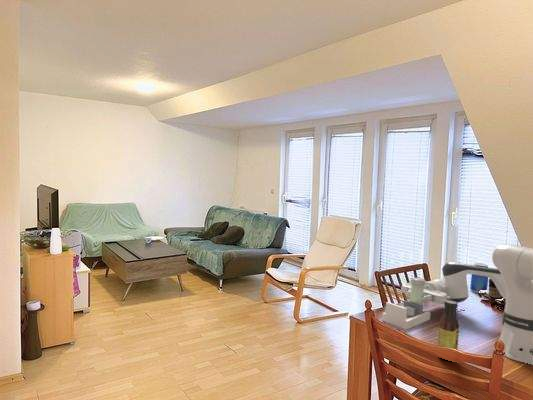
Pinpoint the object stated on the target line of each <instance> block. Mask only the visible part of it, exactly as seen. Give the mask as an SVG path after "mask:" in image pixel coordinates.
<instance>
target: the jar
mask: <svg viewBox="0 0 533 400" xmlns="http://www.w3.org/2000/svg"><path fill="white" fill-rule="evenodd" d="M425 281H426V279H425V278H421V277H410V281H409V282H411V289H410V296H409V300H408V301H409V302H413V303H416V304H419V305H422V306H423V307H424V305H423V303H424V300H421V298H422V296H423V294H424V285H425Z"/></svg>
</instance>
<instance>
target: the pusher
mask: <svg viewBox="0 0 533 400" xmlns="http://www.w3.org/2000/svg"><path fill="white" fill-rule="evenodd" d="M409 301H410V300H406V299H405V300H404V301H403V306H404V307H405V308H407V314H408V315H411V316H414V317H415V316H417V315H420V314H422V313H424V312H423V310H424V305H423V306H422V305H419V304H416V303H413V302H409Z"/></svg>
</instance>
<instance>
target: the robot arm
mask: <svg viewBox="0 0 533 400" xmlns="http://www.w3.org/2000/svg"><path fill="white" fill-rule="evenodd" d="M491 256H492V257H491V260H492V263H493V265H494V267H496V268H493V267H481V266H474V264H468V263H467V264H466V263H462V262H456V261H449V262H446V263H445V264H444V265H443V266H442V268H441V271H442V276H443V278H436V279H433V280H429V281H427V280H425V285H424V294H423V296H422V298H421V300H423V302H424V301H426V302H433V303H436V304H441V305H444V303H445V301H446V300H450V301H455V302H457V304H459V303H462V302H463V303H464V301H466V300H467V299H468V298H469V296H470V295H469V286H468V281H467V280H468V279H467V275H468V274H469V275H472V274H474V275H481V276H486V277H488V279H491V280H492V281H493V282H494V284H495V285H496V287H497V289H498V291H499V293H500V294H501V295H502V297H503V300H504V299H505V310H503V312H502V317H501V318H502V319H501V323H502V328H501V333H500V336H499V337H498V341H499V340H501V341H503V343H504V344H505V350H504V352H505V354H504V355H505V356H506V357H507V358H508V359H510V360H514V361H517V362H520V363H523V362H524V364H527V363H528V364H527V365H530V364H531V366H533V248H531V247H526V246H523V245H522V246H521V245H518V244H500V245H498V246H496V247H495V249H494V250H493V252H492V255H491ZM410 289H411V282H410V281H409V282H406V283H403V284H402V285H401V289H400V291H401V293H403V294H406V296H408V297H410Z"/></svg>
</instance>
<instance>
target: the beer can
mask: <svg viewBox="0 0 533 400" xmlns="http://www.w3.org/2000/svg"><path fill="white" fill-rule="evenodd" d="M473 265H474V266H481V267H488V264H486V263H485V264H484V263H479V262H475V263H474V264H473ZM488 268H489V267H488ZM470 275H471V277H470V287H469V289H470V291H471V292H472V293H474V294H476V295H477V294H478V293H479V291H480V290H487V291H488V288H489V277H486V276H481V275H474V274H470ZM478 295H479V294H478Z"/></svg>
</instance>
